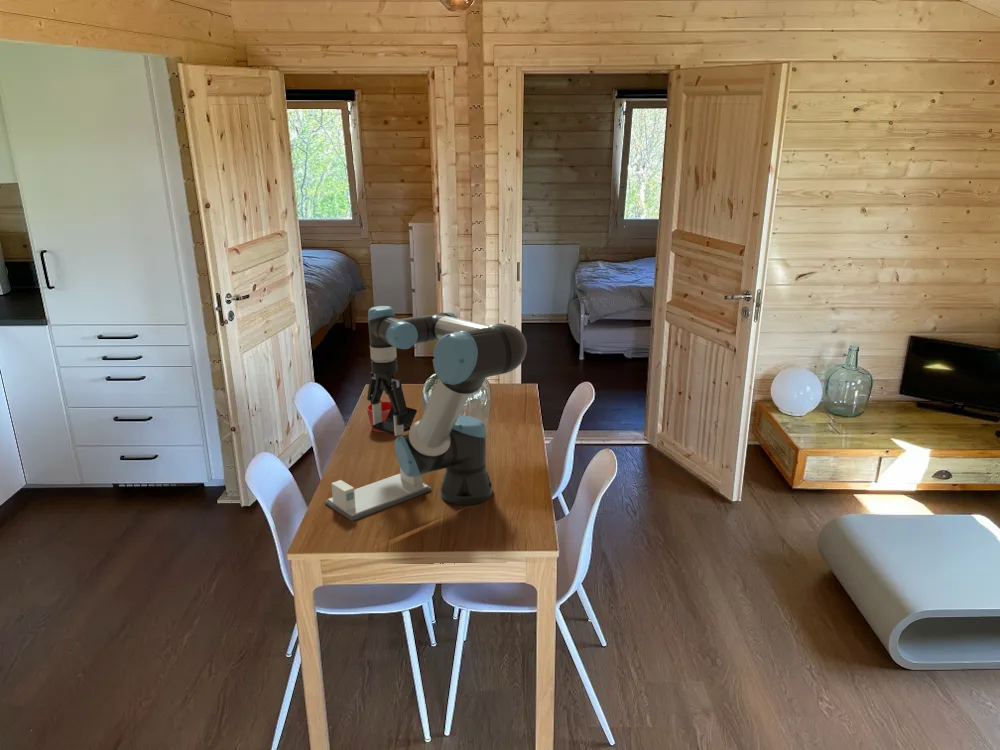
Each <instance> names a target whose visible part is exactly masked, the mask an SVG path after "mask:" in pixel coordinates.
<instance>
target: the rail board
mask: <svg viewBox="0 0 1000 750" xmlns="http://www.w3.org/2000/svg"><path fill="white" fill-rule="evenodd" d="M431 491H432V487H430V486H429V485H428V484H426V483H424V482H423V475H421V476H414V477H409V476H407V475H406V474H404V472H403V471H402V469H401V468H400V467H399V473H398V474H395V475H394V474H393V475H392V476H389V477H386V478H383V479H380V480H378V481H375V482H372V483H369V484H366V485H363V486H361V487H358V488H355V487H353V486H352V485H351V484H348V483H346V482H345V481H344V480H342V479H339V480H337V481H334V482H331V493H332V494H331V495H332V497H329V498H327V499H325V501H324V502H325V503H324V504H326V506H328V507H330V508H331V509H332V510H334V511H336V512H337V513H339V514H340V515H342V516H343V517H345V518H346V519H348V520H349V521H351V522H353V521H357V520H358V519H361V518H364V517H366V516H369V515H372V514H374V513H376V512H379V511H382V510H384V509H388V508H389V507H392V506H395V505H397V504H400V503H402V502H405V501H408V500H411V499H413V498H415V497H418V496H421V495H424V494H426V493H428V492H431Z"/></svg>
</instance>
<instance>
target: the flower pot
mask: <svg viewBox="0 0 1000 750" xmlns="http://www.w3.org/2000/svg"><path fill="white" fill-rule="evenodd" d="M378 403H381V410H382V422H383V421H385V420H386V419H387V417H388V414H389V412H390V410H391V407H392V404H391V401H381V402H378ZM366 412H367V415H368V416H367V417H368V420H369V423H370V427H371V429H372V431H373V432H375V433H384V432H383V431H380V430H377V429H374V428H373V426H372V425H373V412H372V404H371V403H370V404H369V405H367V407H366Z"/></svg>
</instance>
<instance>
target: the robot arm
mask: <svg viewBox="0 0 1000 750" xmlns="http://www.w3.org/2000/svg"><path fill="white" fill-rule="evenodd" d="M367 323H368V335H369V337H368V338H369V350H370V352H369V353H370V360H371V365H370V366H371V372H369V384H368V389H367V390H368V391H367V395H366V396H367V397H366V400H367V401H368V402H369V401H370V404H372V412H373V425H375V424H377V423H380V422H382V410H381V403H378V402H382V400H381V398H382V395H383V392H384V393H385V394H386V395H387V396H388V398H389V402H391V404H392V407H393V409H394V412H395V413H394V414H393V416H394V432H395V435H394V436H395V437H396V438H395V440H394V452H395V455H396V460H397V462H398V463H397V464H398V466H399V469H400V468H401V469H402V471H403V472H404V474H406V475H407V476H409V477H414V476H421V475H422V476H423V475H426V474H429V473H432V472H436V471H439V470H443V469H445V472H444V475H443V478H442V482H441V485H440V497H441V499H443V500H444V501H445V502H447V503H449V504H453V505H457V506H459V505H460V506H468V505H469V506H470V505H471V506H472V505H478V504H481V503H483V502H485V501H487V500H489V499H490V498H491V497H492V494H493V484H492V482H491V478H490V476H489V473H488V470H487V454H486V453H487V448H486V447H487V443H486V442H487V441H486V438H487V433H486V425H485V423H484V421H482V420H480V419H479V418H476V417H473V416H469V415H463V416H459V415H460V413H461V414H462V411H463V409H464V407H465V405H466V403H467V401H468V400H469V398H470V396H471V394H475V393H476V392H478V391H479V390H480V389H481V387H482V386H483V383H485V380H486V379H487V378H488V377H489V378H490V377H495V376H499V375H504V374H508V373H510V372H513V371H514V370H516V369H517V368H518V367H519V366H520V365H522V363H523V361H524V360H525V357H526V355H527V350H528V345H527V339H526V337H525V335H524V334H523V332H522V331H521V330H520V329H518V328H517V327H515V326H513V325H510V324H505V323H500V322H499V323H494V324H491V325H490V324H486V323H481V322H477V321H471V320H469V319H468V320H467V319H462V318H458V316H457V315H456V314H455V313H454V312H451V311H448V312H439V313H434V314H426V315H420V316H412V317H405V318H397V317H396V314H395V309H394V308H393V307H392V306H388V305H378V306H372V307H371V308H369V309H368V312H367ZM434 341H435V342H436V341H437V342H436V344H435V346H434V348H433V354H432V357H433V359H432V365H433V369H434V372H435V375H436V377H437V378H438V380H437V383H436V385H435V386H434V388H433V389H434V390H433V391H432V393H431V396H430V398H429V400H428V402H427V404H426V407H425V409H424V411H423V413H422V414H421V415H422V416H421V418H420V420H418V421H415V422H414V423H412V424H411V426H410V430H408V431H407V433H406V434H404V433H405V432H404V428H403V414H404V413H407V412H408V411H407V403H406V400H405V396H404V392H403V387H402V380H401V379H396V378H395V374H396V373H397V372H398V360H397V349H401V350H409V349H410V348H412V347H413V346H414V345H415V344H416V345H417V344H422V343H427V342H428V343H429V342H434Z"/></svg>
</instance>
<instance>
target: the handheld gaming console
mask: <svg viewBox="0 0 1000 750" xmlns="http://www.w3.org/2000/svg"><path fill="white" fill-rule="evenodd" d="M406 407H407V406H406ZM407 411H408V412H407V413H404V414H403V428H404V433H405V432H409V430H410V428H411V427H412V425H413V421H414V419H415V417H416V414H417V412H418V410H417V409H415V408H413V407H412V408H411V407H407ZM394 413H395V412H394V409H393V407H391V410H390V412H389V414H388V417H387V419H386V420H385V421H383V422H380V423H377V424H375V425H372V426H373V428H374V429H377V430H380V431H383V432H382V433H388V434H391V435H394V436H395V432H394V416H393V414H394Z"/></svg>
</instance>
